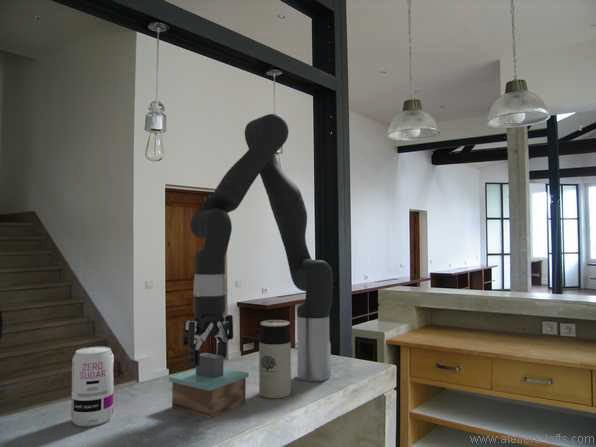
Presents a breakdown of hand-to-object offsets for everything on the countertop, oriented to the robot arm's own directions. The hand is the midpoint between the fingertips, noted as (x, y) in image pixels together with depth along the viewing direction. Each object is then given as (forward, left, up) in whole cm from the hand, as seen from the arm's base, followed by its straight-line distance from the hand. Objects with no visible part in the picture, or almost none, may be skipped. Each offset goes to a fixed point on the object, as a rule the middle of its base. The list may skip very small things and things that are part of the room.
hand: (208, 362), depth 111 cm
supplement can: (+21, -14, -10) cm, 27 cm away
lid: (0, 0, -5) cm, 5 cm away
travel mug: (-15, +8, -10) cm, 20 cm away
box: (0, 0, -10) cm, 10 cm away
